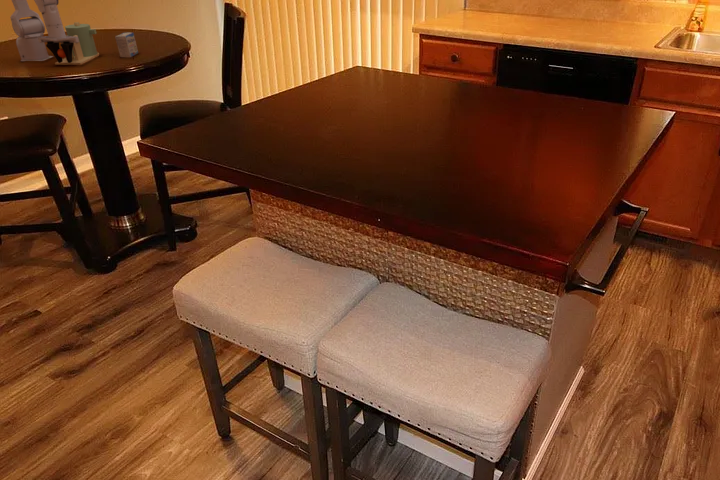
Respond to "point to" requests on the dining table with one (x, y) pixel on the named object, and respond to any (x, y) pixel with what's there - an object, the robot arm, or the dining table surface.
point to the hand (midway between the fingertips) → (65, 62)
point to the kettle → (83, 38)
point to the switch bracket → (76, 56)
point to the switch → (61, 53)
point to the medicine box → (126, 44)
